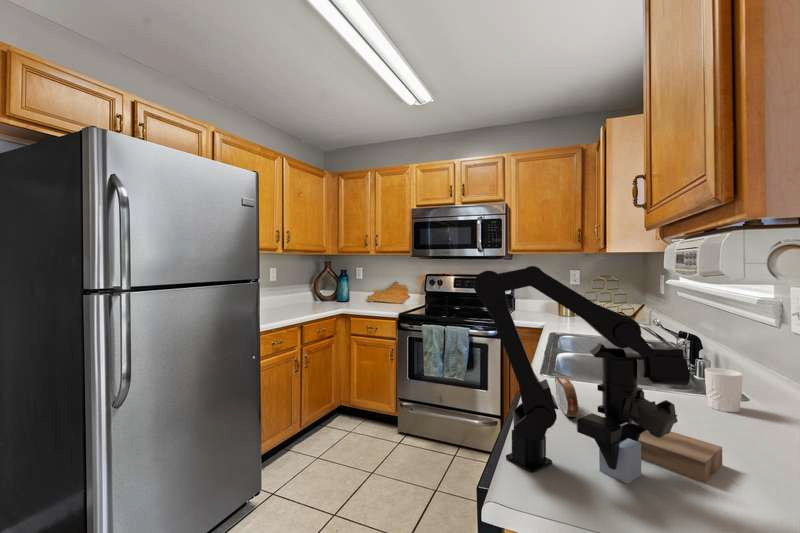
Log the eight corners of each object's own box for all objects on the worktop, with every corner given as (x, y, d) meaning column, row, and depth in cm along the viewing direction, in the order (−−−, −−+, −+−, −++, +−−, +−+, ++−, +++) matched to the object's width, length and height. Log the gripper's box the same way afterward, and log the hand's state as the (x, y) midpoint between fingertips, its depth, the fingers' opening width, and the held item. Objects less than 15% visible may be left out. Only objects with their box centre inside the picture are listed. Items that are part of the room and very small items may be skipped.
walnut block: (705, 485, 66) (705, 462, 66) (597, 444, 82) (597, 426, 82) (722, 467, 72) (722, 446, 72) (618, 432, 88) (618, 415, 88)
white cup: (750, 414, 97) (750, 376, 97) (717, 412, 98) (716, 375, 98) (729, 403, 105) (729, 368, 105) (698, 402, 106) (697, 367, 106)
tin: (579, 422, 92) (579, 388, 92) (566, 421, 93) (565, 388, 93) (565, 401, 107) (565, 372, 107) (553, 400, 108) (553, 371, 108)
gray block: (627, 483, 66) (626, 450, 66) (599, 470, 70) (599, 439, 70) (641, 475, 69) (641, 442, 69) (613, 463, 73) (613, 432, 73)
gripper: (640, 404, 58) (641, 504, 58) (692, 384, 68) (692, 470, 68) (574, 385, 67) (575, 471, 67) (628, 370, 77) (628, 445, 77)
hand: (620, 464), depth 70 cm, fingers closed on gray block, 5 cm apart
